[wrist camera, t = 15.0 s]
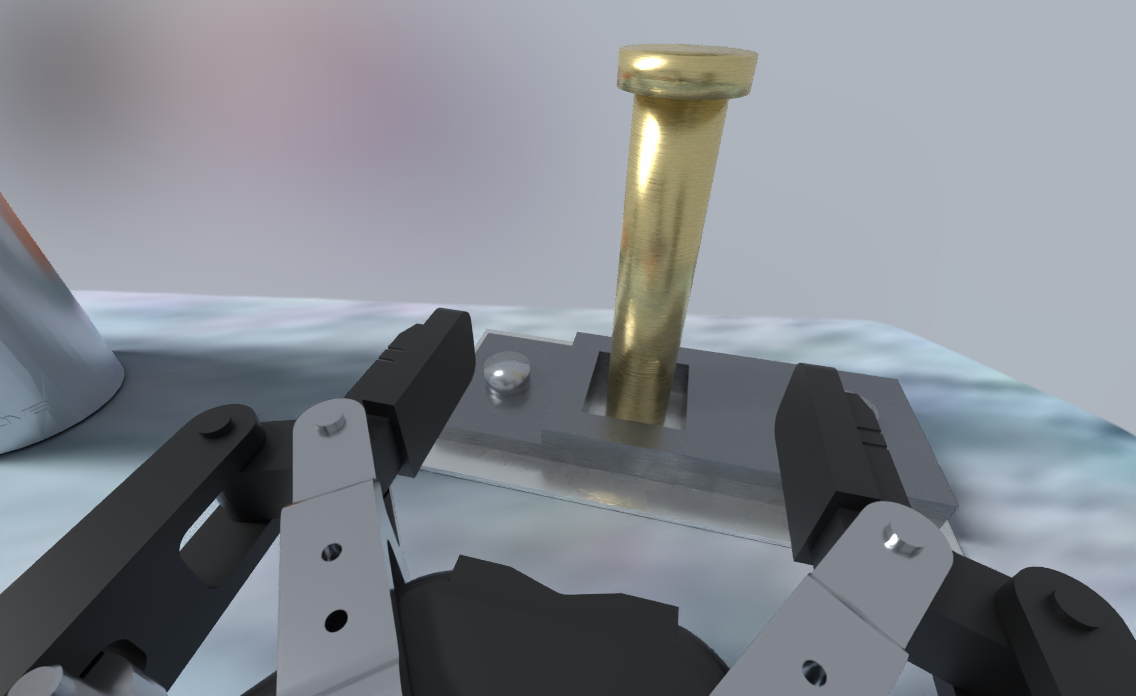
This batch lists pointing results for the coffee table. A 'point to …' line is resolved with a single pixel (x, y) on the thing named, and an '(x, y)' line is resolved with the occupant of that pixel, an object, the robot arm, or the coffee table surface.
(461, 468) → the bolted mounting plate
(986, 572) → the robot arm
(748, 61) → the brass pin
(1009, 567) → the coffee table surface
